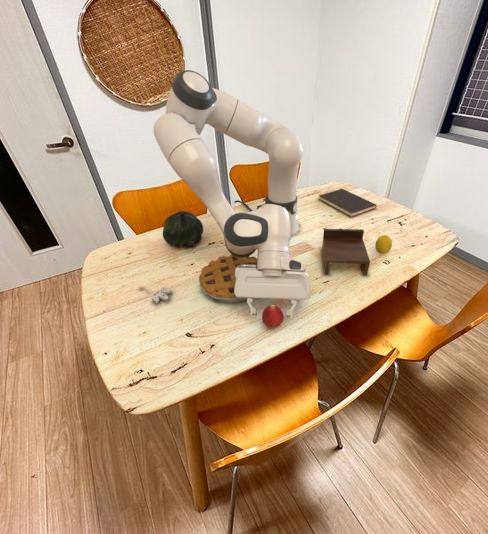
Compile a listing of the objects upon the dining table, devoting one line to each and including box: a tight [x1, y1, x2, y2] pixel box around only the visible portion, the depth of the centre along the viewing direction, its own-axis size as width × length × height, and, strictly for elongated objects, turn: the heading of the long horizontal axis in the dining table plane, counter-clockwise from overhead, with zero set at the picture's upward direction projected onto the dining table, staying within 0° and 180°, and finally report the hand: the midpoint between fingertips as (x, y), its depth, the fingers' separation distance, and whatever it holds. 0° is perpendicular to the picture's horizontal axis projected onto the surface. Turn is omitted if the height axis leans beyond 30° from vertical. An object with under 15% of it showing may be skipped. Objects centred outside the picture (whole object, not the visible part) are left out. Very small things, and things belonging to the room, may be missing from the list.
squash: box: [162, 210, 204, 249], centre depth 106 cm, size 14×15×15 cm
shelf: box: [321, 228, 371, 277], centre depth 96 cm, size 15×14×9 cm
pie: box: [198, 253, 257, 304], centre depth 89 cm, size 22×22×5 cm
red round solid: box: [261, 304, 285, 329], centre depth 74 cm, size 6×6×8 cm
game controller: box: [140, 287, 171, 305], centre depth 86 cm, size 6×12×3 cm, turn 79°
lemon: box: [374, 234, 393, 255], centre depth 100 cm, size 6×6×8 cm
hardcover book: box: [318, 188, 377, 218], centre depth 135 cm, size 16×23×2 cm
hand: (271, 316), depth 73 cm, fingers open, 8 cm apart
